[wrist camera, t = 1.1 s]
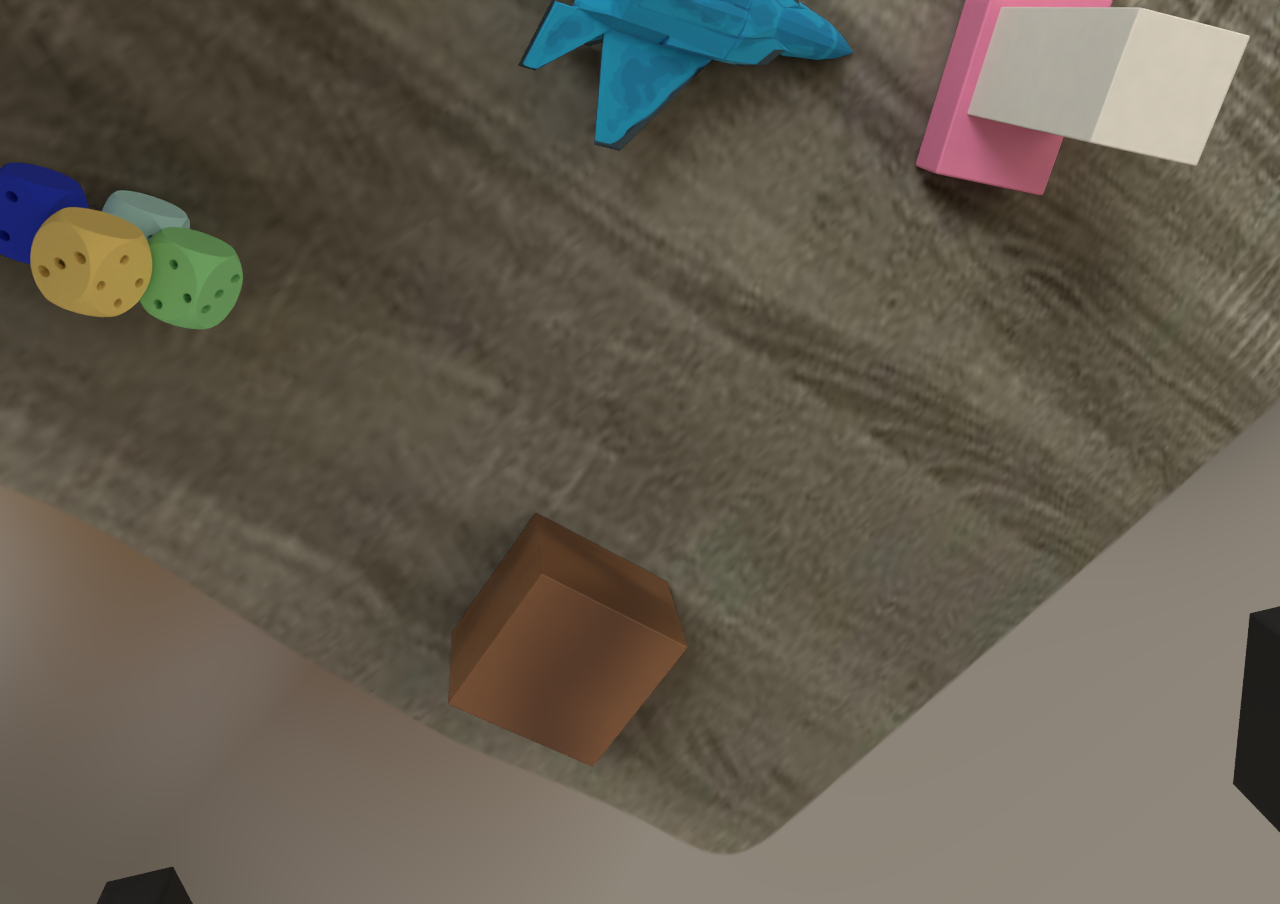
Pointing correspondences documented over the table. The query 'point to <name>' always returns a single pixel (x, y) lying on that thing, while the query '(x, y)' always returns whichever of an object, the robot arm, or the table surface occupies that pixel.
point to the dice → (114, 251)
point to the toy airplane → (673, 48)
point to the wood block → (564, 642)
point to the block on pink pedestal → (1073, 87)
